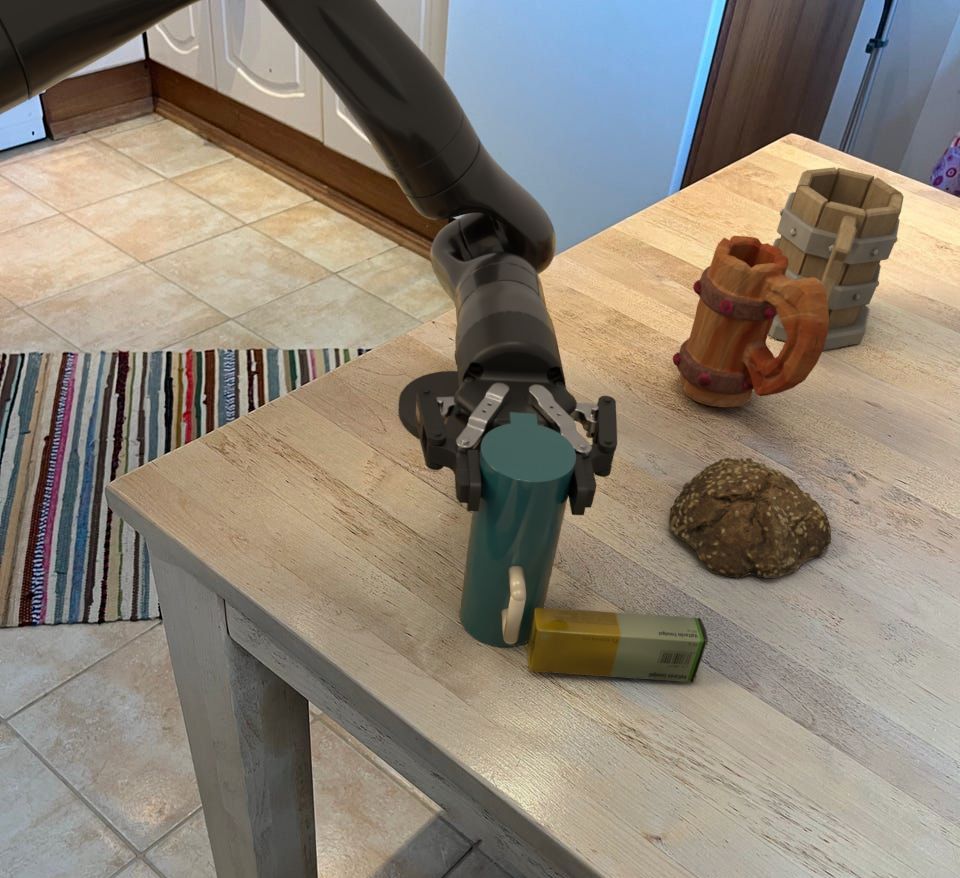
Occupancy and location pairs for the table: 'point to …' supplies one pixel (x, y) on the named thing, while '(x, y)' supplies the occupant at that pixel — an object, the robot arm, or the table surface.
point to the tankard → (839, 244)
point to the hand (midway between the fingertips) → (528, 502)
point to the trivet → (443, 387)
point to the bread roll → (749, 520)
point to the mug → (750, 326)
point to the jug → (515, 529)
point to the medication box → (616, 644)
